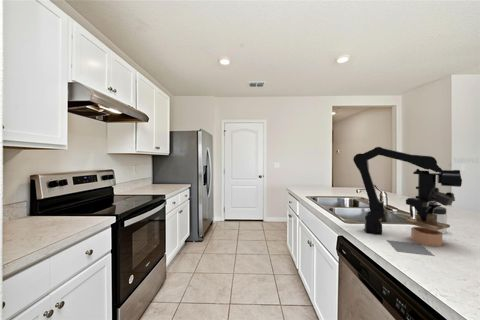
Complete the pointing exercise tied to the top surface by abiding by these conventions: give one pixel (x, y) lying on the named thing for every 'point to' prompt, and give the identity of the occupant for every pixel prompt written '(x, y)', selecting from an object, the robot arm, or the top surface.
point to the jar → (441, 217)
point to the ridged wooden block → (428, 222)
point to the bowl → (426, 236)
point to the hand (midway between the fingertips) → (426, 220)
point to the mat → (409, 248)
